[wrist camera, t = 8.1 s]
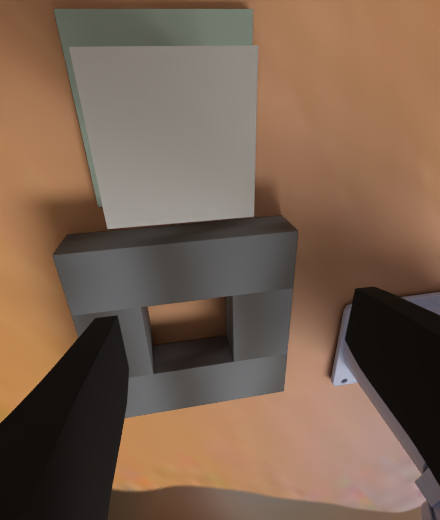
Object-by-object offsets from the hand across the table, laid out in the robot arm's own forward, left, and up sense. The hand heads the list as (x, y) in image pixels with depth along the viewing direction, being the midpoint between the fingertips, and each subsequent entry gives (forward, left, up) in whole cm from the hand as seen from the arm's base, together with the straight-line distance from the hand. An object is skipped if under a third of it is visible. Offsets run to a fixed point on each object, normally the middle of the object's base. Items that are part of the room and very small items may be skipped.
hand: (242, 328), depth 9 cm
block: (+1, -5, -9) cm, 10 cm away
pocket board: (+1, +6, -9) cm, 11 cm away
